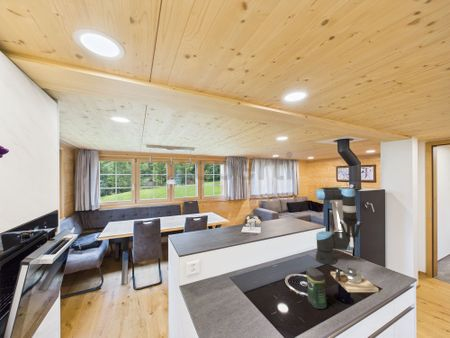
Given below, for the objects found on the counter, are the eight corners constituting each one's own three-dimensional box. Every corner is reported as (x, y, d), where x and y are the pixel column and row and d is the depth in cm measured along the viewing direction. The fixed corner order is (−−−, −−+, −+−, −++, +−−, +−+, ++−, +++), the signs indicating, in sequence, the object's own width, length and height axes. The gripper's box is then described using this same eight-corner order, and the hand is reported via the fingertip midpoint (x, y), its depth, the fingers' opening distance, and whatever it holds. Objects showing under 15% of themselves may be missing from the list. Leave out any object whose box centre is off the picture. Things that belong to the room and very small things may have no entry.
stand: (330, 274, 130) (330, 271, 130) (356, 274, 129) (356, 271, 129) (348, 292, 110) (347, 288, 110) (378, 292, 109) (378, 288, 109)
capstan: (351, 274, 126) (351, 262, 126) (365, 282, 116) (364, 269, 116) (330, 277, 122) (329, 265, 122) (343, 286, 112) (342, 273, 113)
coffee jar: (329, 308, 97) (327, 273, 98) (316, 311, 96) (314, 275, 97) (317, 297, 107) (315, 265, 108) (305, 299, 105) (303, 266, 106)
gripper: (359, 210, 123) (361, 245, 122) (337, 209, 127) (339, 243, 127) (363, 213, 116) (365, 249, 115) (339, 212, 120) (341, 247, 120)
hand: (351, 246), depth 121 cm, fingers closed
